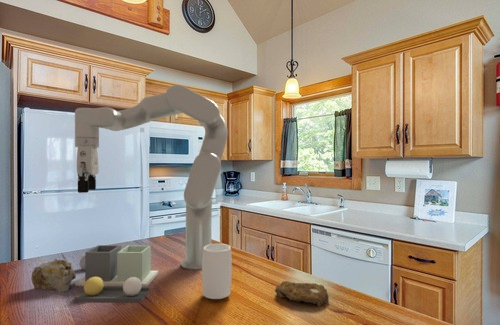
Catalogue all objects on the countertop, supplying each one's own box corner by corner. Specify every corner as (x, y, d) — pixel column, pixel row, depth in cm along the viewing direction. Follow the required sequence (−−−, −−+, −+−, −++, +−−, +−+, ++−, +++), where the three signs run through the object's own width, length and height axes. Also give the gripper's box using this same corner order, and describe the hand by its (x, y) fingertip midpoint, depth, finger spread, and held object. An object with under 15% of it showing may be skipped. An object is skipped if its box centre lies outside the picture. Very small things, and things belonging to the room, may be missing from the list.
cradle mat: (151, 290, 88) (151, 286, 88) (141, 303, 80) (141, 299, 80) (87, 290, 88) (87, 285, 88) (71, 303, 80) (71, 298, 80)
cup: (198, 293, 86) (199, 245, 86) (226, 288, 90) (226, 242, 90) (206, 306, 78) (206, 253, 78) (235, 300, 82) (236, 249, 82)
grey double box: (158, 274, 101) (158, 244, 101) (146, 287, 90) (147, 254, 90) (94, 273, 101) (94, 243, 101) (75, 287, 90) (75, 253, 90)
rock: (84, 281, 91) (72, 251, 91) (66, 293, 85) (53, 261, 84) (56, 288, 95) (44, 260, 94) (37, 300, 88) (24, 270, 88)
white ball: (144, 291, 86) (144, 274, 86) (137, 299, 81) (137, 281, 81) (127, 291, 86) (127, 274, 86) (119, 299, 81) (119, 281, 81)
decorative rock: (274, 309, 79) (331, 313, 78) (275, 294, 78) (332, 298, 77) (273, 288, 90) (323, 291, 89) (274, 275, 90) (324, 278, 89)
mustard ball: (107, 291, 86) (107, 274, 86) (98, 299, 81) (98, 280, 81) (90, 290, 86) (90, 273, 86) (80, 298, 81) (80, 280, 81)
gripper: (92, 141, 97) (92, 193, 98) (104, 144, 114) (104, 188, 114) (66, 141, 96) (66, 194, 96) (82, 144, 112) (82, 189, 112)
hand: (87, 191), depth 105 cm, fingers open, 9 cm apart
